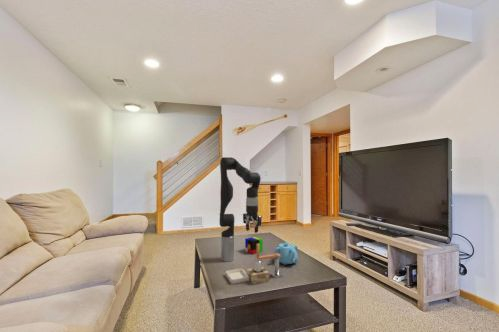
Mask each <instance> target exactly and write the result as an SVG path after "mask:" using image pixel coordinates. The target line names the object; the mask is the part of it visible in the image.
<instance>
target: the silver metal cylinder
mask: <svg viewBox="0 0 499 332" xmlns="http://www.w3.org/2000/svg"><path fill="white" fill-rule="evenodd" d="M262 267H263V266H262V260H258V259H257V258H256V259H254V260H253V268H254V272H255V273H260V272H261V268H262Z"/></svg>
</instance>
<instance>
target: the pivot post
mask: <svg viewBox="0 0 499 332" xmlns="http://www.w3.org/2000/svg"><path fill="white" fill-rule="evenodd" d="M269 275H270V276H271V277H273V279H279V278H284V274H283V273H281V272H280V262H279V257H278V258H276V257H275V259H274V272H269Z"/></svg>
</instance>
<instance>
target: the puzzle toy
mask: <svg viewBox="0 0 499 332" xmlns="http://www.w3.org/2000/svg"><path fill="white" fill-rule="evenodd" d="M244 239H245V243H244V244H245V247H244V251H245V252H246V253H248V254H250V255H257V243H259V254H260V253H263V252H264V251H263V244H264V243H263V239H262V238H259V237H256V236H250V237H248V238H244Z"/></svg>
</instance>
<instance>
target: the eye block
mask: <svg viewBox="0 0 499 332" xmlns="http://www.w3.org/2000/svg"><path fill="white" fill-rule="evenodd" d="M246 273H247V274H248V276H249V277H250V281H249V282H251V284H253V285H256V284H261V283H262V284H264V283H266V282H267V283H268V282H270V272H269V271H268V270H267V269H266V268H265V267H264V266H262V268H261V272H260V273H255V272H254V267H251V268H249V267H248V268H247V269H246Z"/></svg>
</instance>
